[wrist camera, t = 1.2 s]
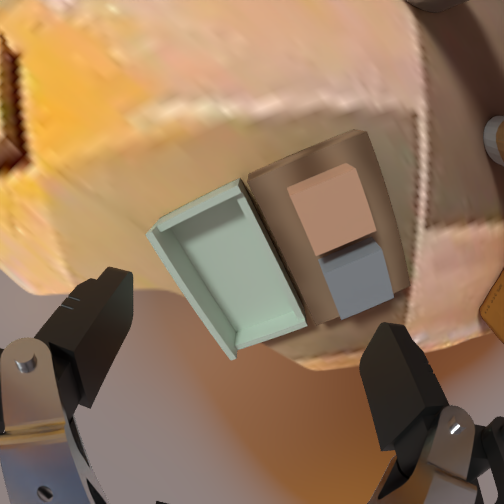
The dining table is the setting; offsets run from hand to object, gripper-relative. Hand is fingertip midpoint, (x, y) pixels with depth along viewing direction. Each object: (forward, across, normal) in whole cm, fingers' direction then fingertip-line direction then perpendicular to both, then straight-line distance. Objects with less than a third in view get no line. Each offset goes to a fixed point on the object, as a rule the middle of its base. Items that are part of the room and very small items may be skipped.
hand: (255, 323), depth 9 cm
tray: (+24, 0, +11) cm, 26 cm away
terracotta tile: (+20, -7, +1) cm, 21 cm away
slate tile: (+20, -12, +7) cm, 24 cm away
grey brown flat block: (+24, -9, +4) cm, 26 cm away
